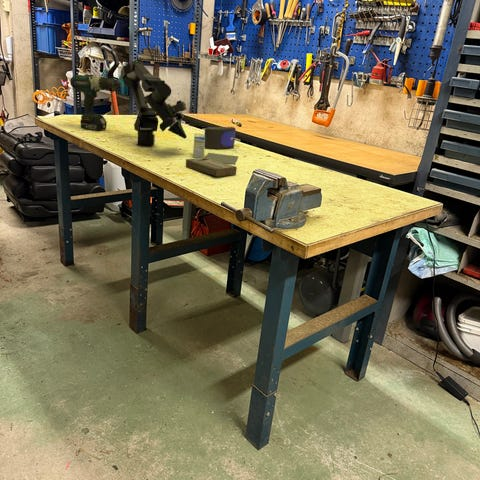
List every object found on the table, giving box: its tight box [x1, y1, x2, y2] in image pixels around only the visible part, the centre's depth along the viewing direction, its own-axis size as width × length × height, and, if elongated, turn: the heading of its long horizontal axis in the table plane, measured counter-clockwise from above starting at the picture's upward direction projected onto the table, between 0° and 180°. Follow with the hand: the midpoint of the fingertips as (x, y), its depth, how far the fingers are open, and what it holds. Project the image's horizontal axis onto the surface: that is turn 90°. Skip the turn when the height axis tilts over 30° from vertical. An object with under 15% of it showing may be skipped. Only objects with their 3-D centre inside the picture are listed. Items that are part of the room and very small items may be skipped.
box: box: [185, 157, 238, 178], centre depth 158 cm, size 11×17×3 cm, turn 45°
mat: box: [204, 152, 239, 166], centre depth 178 cm, size 13×14×1 cm
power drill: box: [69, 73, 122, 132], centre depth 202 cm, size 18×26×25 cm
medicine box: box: [192, 132, 205, 159], centre depth 176 cm, size 8×4×9 cm, turn 5°
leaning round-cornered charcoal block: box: [203, 126, 237, 150], centre depth 194 cm, size 16×5×9 cm, turn 124°
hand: (185, 137), depth 176 cm, fingers closed
